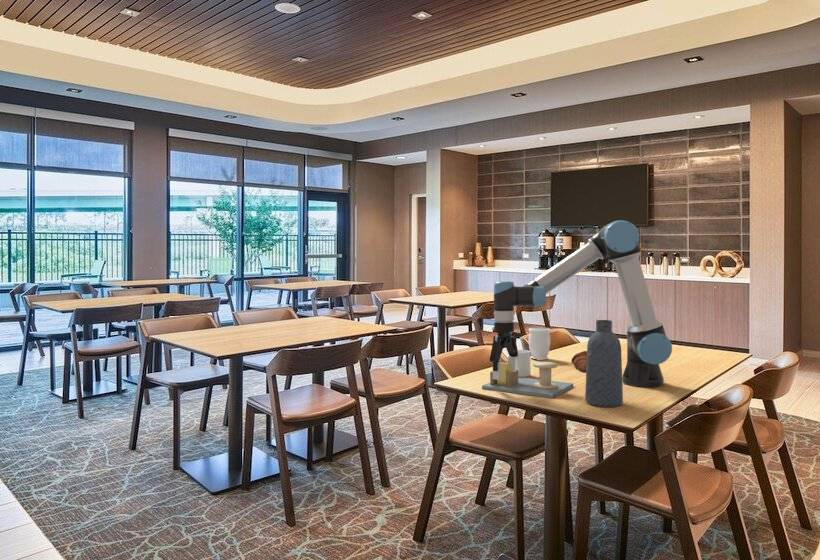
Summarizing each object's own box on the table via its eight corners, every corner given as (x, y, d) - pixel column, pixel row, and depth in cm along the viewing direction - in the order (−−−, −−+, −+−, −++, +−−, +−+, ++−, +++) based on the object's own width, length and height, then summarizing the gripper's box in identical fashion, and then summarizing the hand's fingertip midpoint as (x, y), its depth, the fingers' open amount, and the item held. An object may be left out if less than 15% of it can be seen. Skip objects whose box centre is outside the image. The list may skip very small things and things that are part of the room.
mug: (520, 379, 236) (519, 354, 236) (502, 377, 241) (502, 352, 241) (533, 375, 245) (533, 350, 245) (516, 372, 251) (516, 349, 250)
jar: (524, 358, 287) (524, 328, 286) (543, 356, 290) (543, 327, 289) (535, 361, 277) (535, 330, 276) (554, 360, 280) (554, 329, 279)
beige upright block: (510, 383, 224) (510, 363, 223) (506, 385, 220) (506, 364, 220) (501, 382, 226) (501, 362, 226) (496, 384, 223) (496, 363, 222)
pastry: (614, 371, 253) (614, 353, 253) (584, 373, 248) (584, 355, 248) (591, 364, 269) (591, 347, 269) (562, 366, 265) (562, 349, 264)
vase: (608, 409, 189) (608, 323, 188) (577, 402, 198) (577, 320, 197) (630, 403, 196) (630, 320, 195) (599, 397, 206) (599, 318, 205)
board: (573, 386, 223) (573, 361, 223) (552, 398, 205) (552, 370, 204) (506, 378, 239) (506, 354, 238) (482, 388, 221) (481, 363, 220)
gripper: (508, 318, 234) (509, 369, 235) (480, 324, 214) (480, 380, 215) (526, 318, 230) (526, 371, 231) (498, 325, 210) (498, 383, 211)
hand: (504, 376), depth 223 cm, fingers open, 13 cm apart
